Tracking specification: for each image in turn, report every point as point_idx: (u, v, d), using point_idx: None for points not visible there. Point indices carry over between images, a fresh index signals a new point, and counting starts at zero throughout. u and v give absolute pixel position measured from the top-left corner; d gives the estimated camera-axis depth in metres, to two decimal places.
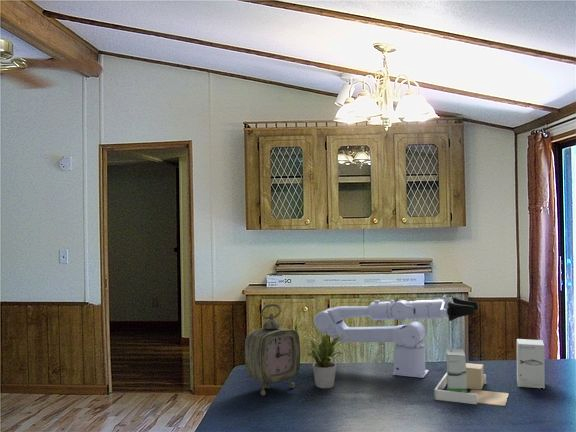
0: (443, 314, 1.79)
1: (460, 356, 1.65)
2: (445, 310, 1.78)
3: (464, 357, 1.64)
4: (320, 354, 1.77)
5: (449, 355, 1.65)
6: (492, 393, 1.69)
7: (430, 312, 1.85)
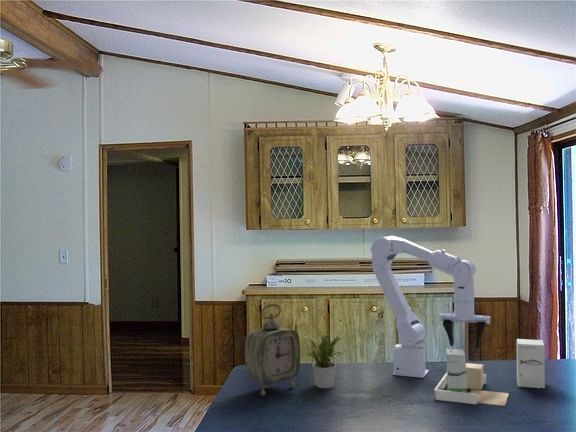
0: None
1: (460, 356, 1.65)
2: (439, 319, 1.84)
3: (464, 357, 1.64)
4: (320, 354, 1.77)
5: (449, 355, 1.65)
6: (492, 393, 1.69)
7: None
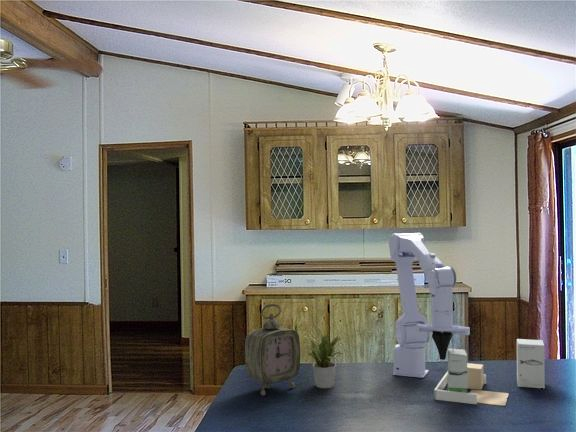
0: None
1: (462, 356, 1.65)
2: (416, 330, 1.73)
3: (466, 357, 1.65)
4: (320, 354, 1.77)
5: (451, 354, 1.66)
6: (492, 393, 1.69)
7: None
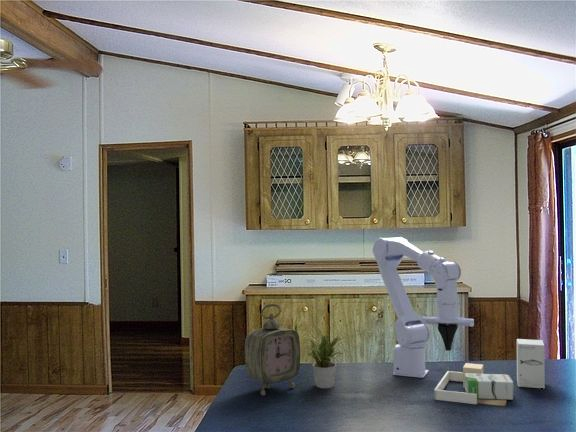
0: None
1: (512, 394, 1.62)
2: None
3: (511, 398, 1.62)
4: (320, 354, 1.77)
5: (512, 383, 1.62)
6: None
7: None
